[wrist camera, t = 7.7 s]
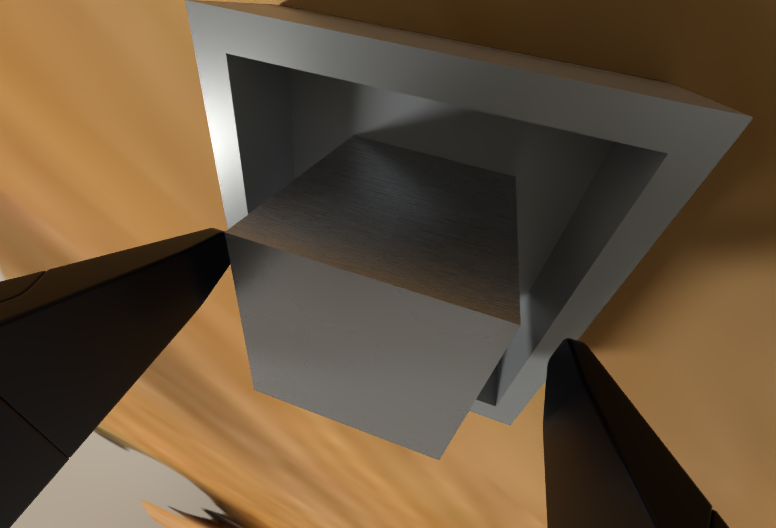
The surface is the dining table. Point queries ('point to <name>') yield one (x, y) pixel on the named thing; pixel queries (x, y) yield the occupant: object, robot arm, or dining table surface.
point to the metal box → (380, 289)
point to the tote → (467, 147)
